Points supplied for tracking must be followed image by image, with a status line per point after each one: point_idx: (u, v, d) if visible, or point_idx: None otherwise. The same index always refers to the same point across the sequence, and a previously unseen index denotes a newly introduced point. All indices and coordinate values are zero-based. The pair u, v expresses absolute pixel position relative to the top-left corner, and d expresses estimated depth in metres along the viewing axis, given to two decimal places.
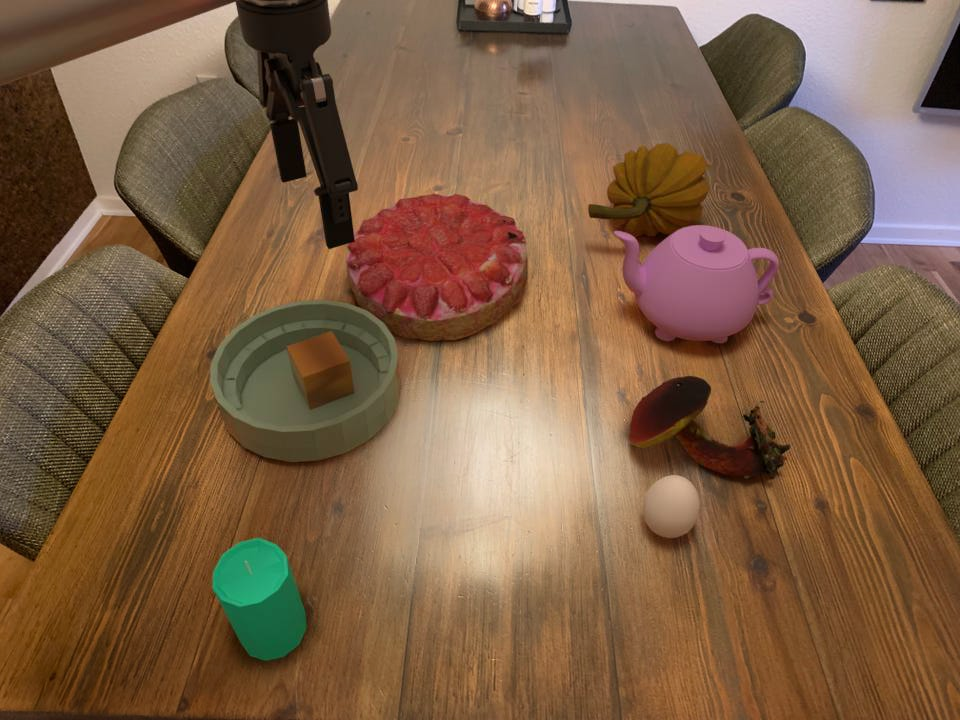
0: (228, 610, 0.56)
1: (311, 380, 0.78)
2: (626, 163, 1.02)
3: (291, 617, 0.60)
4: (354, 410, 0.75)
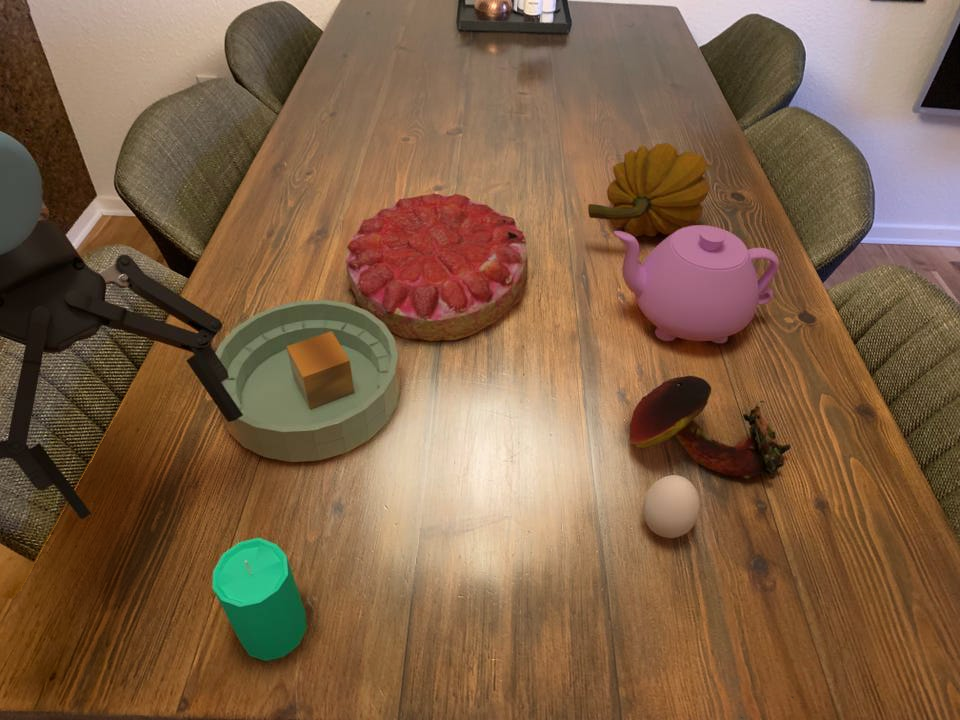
0: (228, 610, 0.56)
1: (311, 380, 0.78)
2: (626, 163, 1.02)
3: (291, 617, 0.60)
4: (354, 410, 0.75)
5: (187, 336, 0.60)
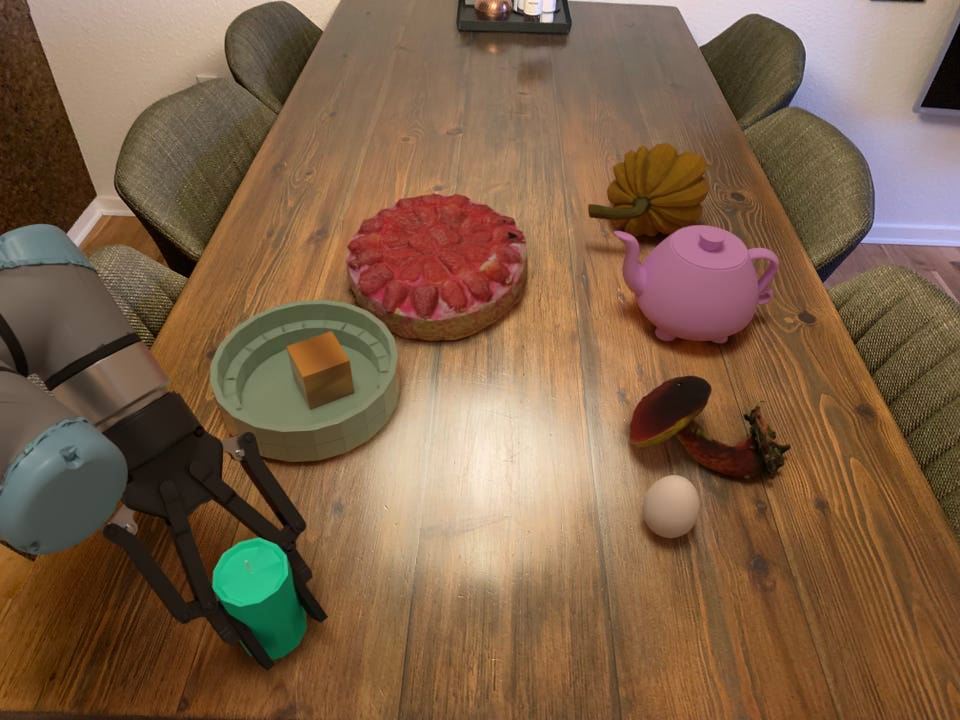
0: (228, 610, 0.56)
1: (311, 380, 0.78)
2: (626, 163, 1.02)
3: (291, 617, 0.60)
4: (354, 410, 0.75)
5: (277, 536, 0.60)
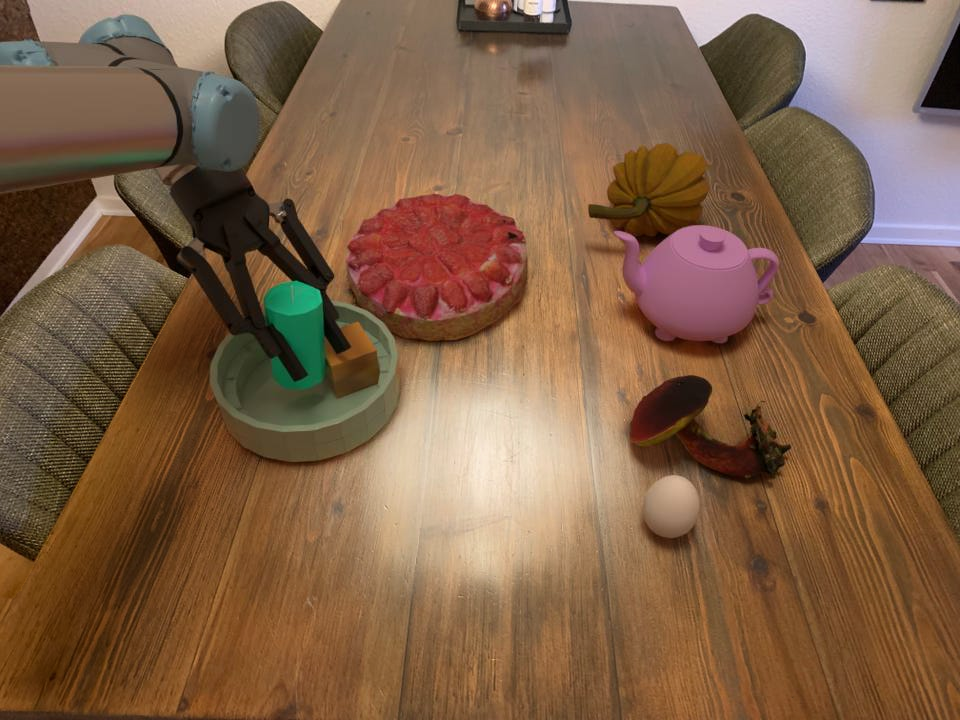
0: (277, 324, 0.72)
1: (339, 369, 0.80)
2: (626, 163, 1.02)
3: (320, 346, 0.77)
4: (354, 410, 0.75)
5: (311, 279, 0.76)
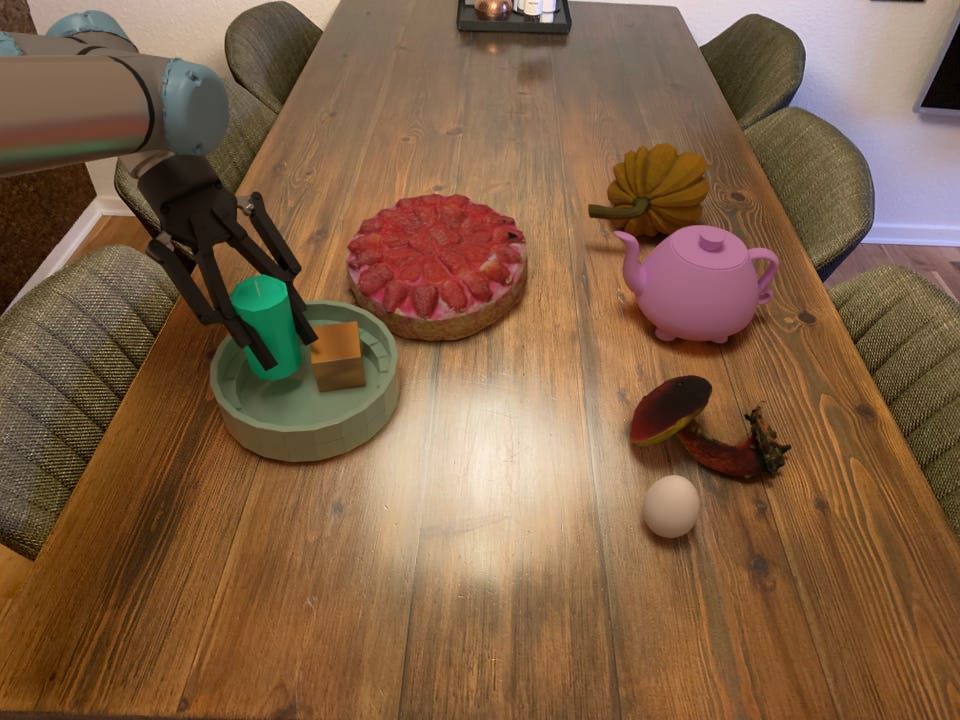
0: (244, 320, 0.74)
1: (320, 367, 0.80)
2: (626, 163, 1.02)
3: (291, 338, 0.78)
4: (354, 410, 0.75)
5: (279, 272, 0.77)
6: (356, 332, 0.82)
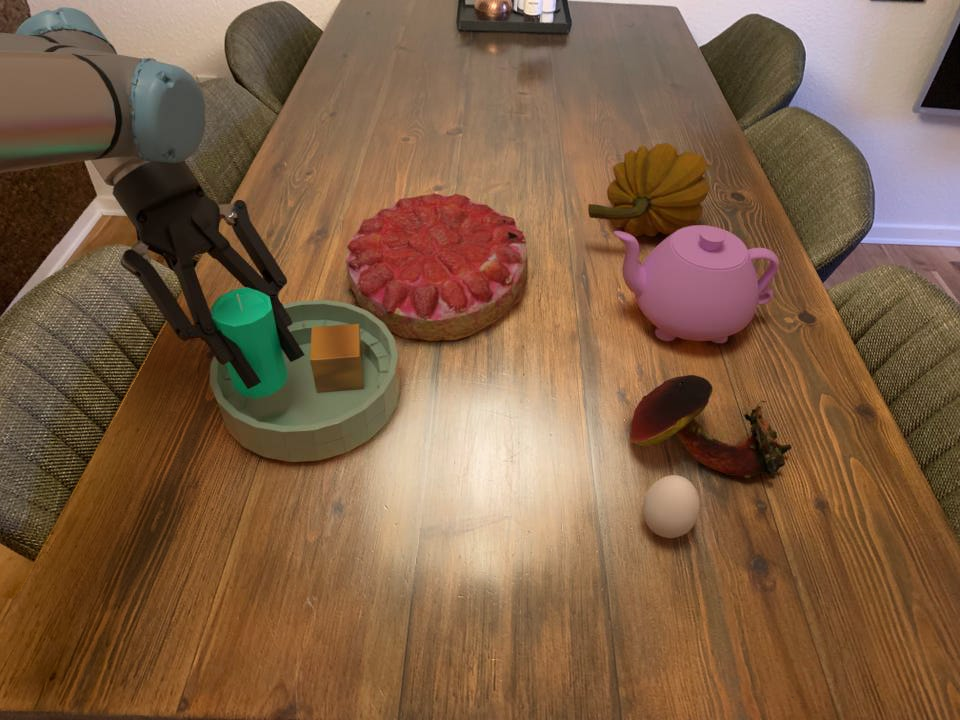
0: (225, 335, 0.70)
1: (319, 365, 0.80)
2: (626, 163, 1.02)
3: (275, 354, 0.74)
4: (354, 410, 0.75)
5: (262, 284, 0.73)
6: (357, 334, 0.82)
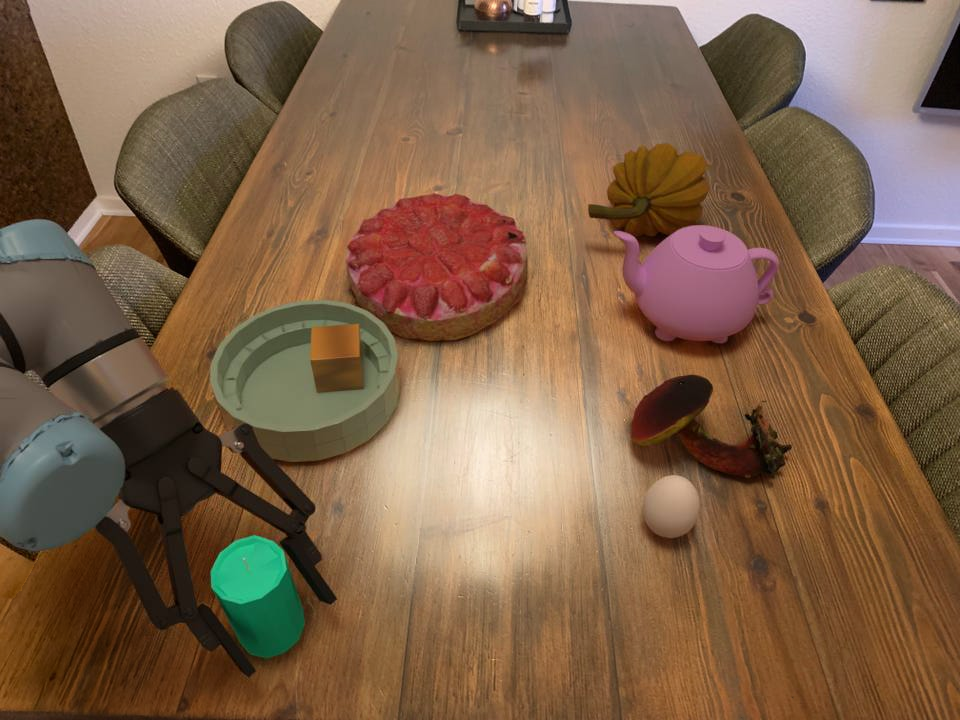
0: (228, 608, 0.56)
1: (319, 365, 0.80)
2: (626, 163, 1.02)
3: (290, 613, 0.60)
4: (354, 410, 0.75)
5: (285, 520, 0.60)
6: (357, 334, 0.82)
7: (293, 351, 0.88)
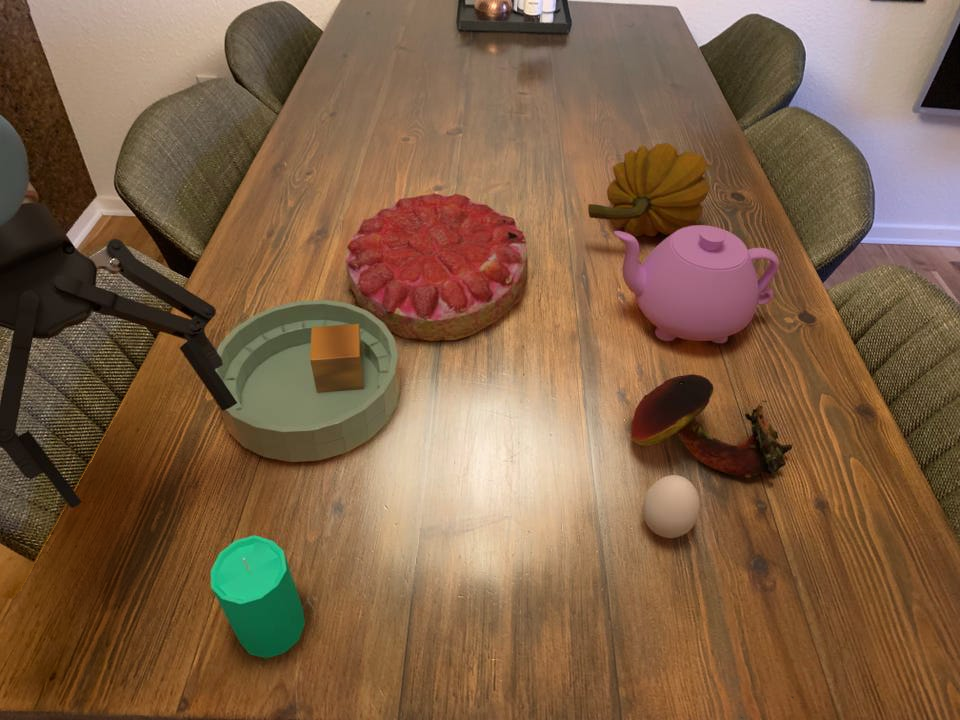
0: (228, 608, 0.56)
1: (319, 365, 0.80)
2: (626, 163, 1.02)
3: (290, 613, 0.60)
4: (354, 410, 0.75)
5: (180, 322, 0.59)
6: (357, 334, 0.82)
7: (293, 351, 0.88)
